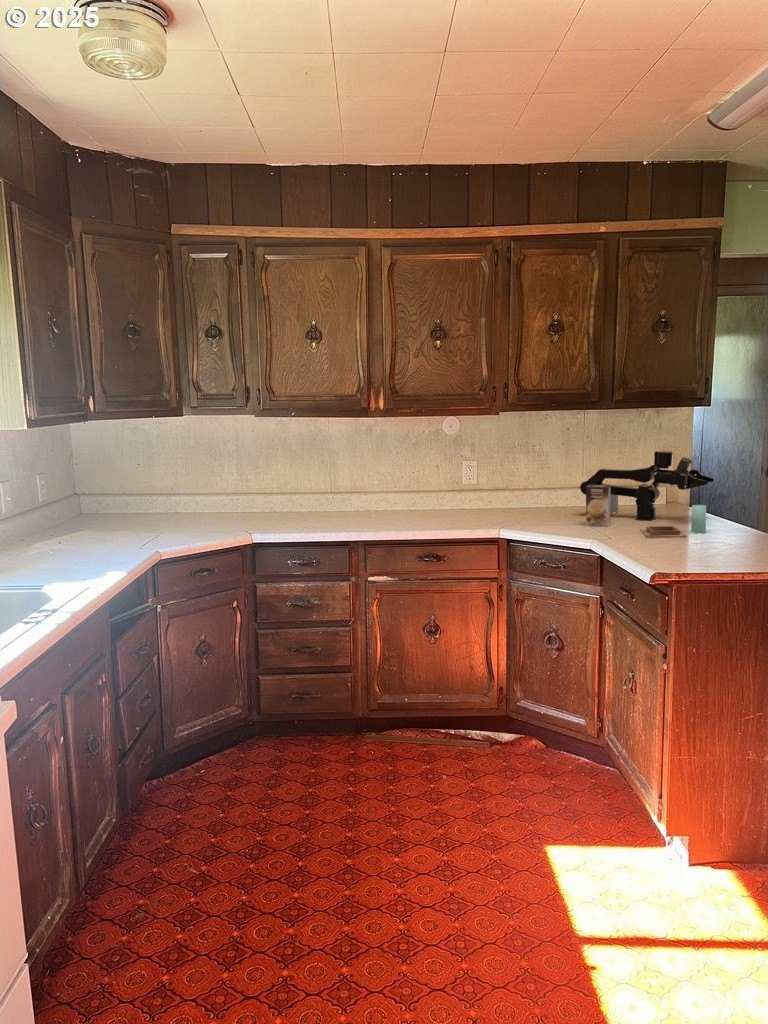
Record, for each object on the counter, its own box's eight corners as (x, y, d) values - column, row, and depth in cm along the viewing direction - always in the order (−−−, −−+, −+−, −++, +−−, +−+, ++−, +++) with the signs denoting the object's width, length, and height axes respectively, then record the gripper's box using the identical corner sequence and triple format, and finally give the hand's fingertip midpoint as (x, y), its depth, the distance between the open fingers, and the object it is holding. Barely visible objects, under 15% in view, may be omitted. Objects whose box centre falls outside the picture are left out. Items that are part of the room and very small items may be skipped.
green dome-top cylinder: (690, 533, 285) (690, 506, 284) (692, 530, 290) (693, 504, 288) (704, 533, 283) (704, 507, 281) (706, 531, 287) (707, 505, 285)
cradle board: (639, 531, 293) (639, 525, 293) (678, 530, 291) (678, 525, 291) (646, 538, 280) (646, 532, 279) (687, 537, 278) (687, 531, 277)
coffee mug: (611, 514, 334) (611, 491, 332) (590, 512, 341) (590, 490, 339) (625, 510, 343) (625, 488, 342) (605, 508, 350) (605, 487, 349)
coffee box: (585, 526, 310) (584, 486, 307) (587, 523, 315) (587, 484, 313) (608, 526, 306) (608, 486, 303) (611, 524, 311) (610, 484, 309)
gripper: (664, 459, 301) (706, 463, 292) (678, 455, 316) (718, 458, 307) (662, 487, 303) (703, 492, 294) (676, 482, 318) (716, 486, 309)
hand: (710, 481), depth 301 cm, fingers open, 9 cm apart
